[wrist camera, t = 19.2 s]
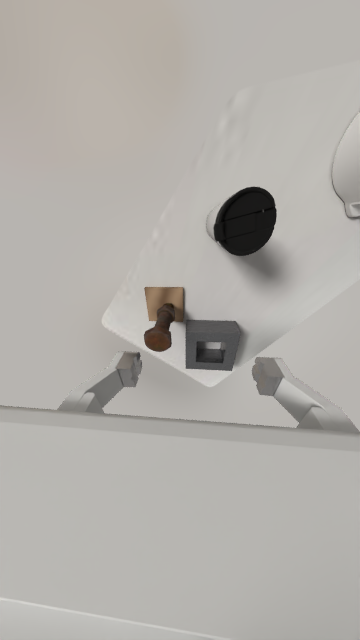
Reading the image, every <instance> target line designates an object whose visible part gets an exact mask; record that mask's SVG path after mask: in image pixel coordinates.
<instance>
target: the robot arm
mask: <svg viewBox="0 0 360 640" xmlns="http://www.w3.org/2000/svg"><path fill="white" fill-rule="evenodd" d="M332 180H333V185H334V188H335V191H336V192H337V194H338V195H339V196H340V197H341V199H342V200H343V201H344V203H345V209H346V214H347V216H348V217H357V216H360V112H359V113H358V114H357V115H356V117H355V118H354V119H353V121H352V122H351V124H350V125H349V127H348V129H347V130H346V132H345V134H344V136H343V138H342V140H341V142H340V144H339V146H338V149H337V152H336V155H335V158H334V163H333V169H332ZM255 363H256V364H255V365H254V366H253V368H252V375H253V378H254V380H255V381H256V382H257V385H256V386H257V389H258V391H259V394H260V395H268V396H273V397H274V398H275V399H276V400H277V401H278V402H279V403H280V404H281V405H282V406H283V407H284V408H285V409H286V410H287V411H288V412H289V413H290V414H291V415H292V416H293V417H294V418H295V419H296V420H297V421H298V422H299V423H300V424H299V425H298V426H297V428H290V427H275V426H264V425H250V424H249V425H248V424H237V423H222V422H210V421H197V420H184V419H170V418H156V417H143V416H130V415H117V414H105V413H104V412H103V410H102V408H103V407H104V406H105V405H106V404H107V403H108V402H109V401H110V400H111V399H112V398H113V397H114V396H115V395H116V394H117V393H118V392H119V391H120V390H121V389H122V388H123V387H135V386H136V384H137V381H138V375H139V374H140V373H141V369H142V361H141V360H140V353H139V352H126V351H118V352H117V353H116V355H115V357H114V358H113V360H112V362H111V363H110V365H109V367H108V368H105V369H104V370H102V371H100V372H99V373H97V374H96V375H94V376H93V377H91V378H90V379H88V380H87V381H85V382H84V383H82V384H81V385H79V386H78V387H76V388H75V389H73V390H72V391H71V392H70V393H69V395H68V396H67V397H66V398H65V400H64V401H63V403H62V404H61V405H60V407H59V408H58V409H57V410H51V409H38V408H37V409H36V408H24V407H12V406H0V640H360V432H359V430H358V429H357V428H356V427H355V425H354V424H353V423H352V421H351V420H350V419H349V418H348V416H347V415H346V414H345V413H344V411H343V410H342V409H341V408H340V407H338V406H337V405H335V404H334V403H332V402H331V401H329V400H328V399H327V398H325V397H324V396H322V395H321V394H319V393H318V392H316V391H314V390H313V389H312V388H310V387H309V386H307V385H306V384H304V383H303V382H302V381H300V380H299V379H297V378H294V377H293V375H292V373H291V372H290V370H289V369H288V367H287V366H286V364H285V363H284V361H283V360H282V359H281V358H263V357H257V358H256V359H255Z"/></svg>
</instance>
